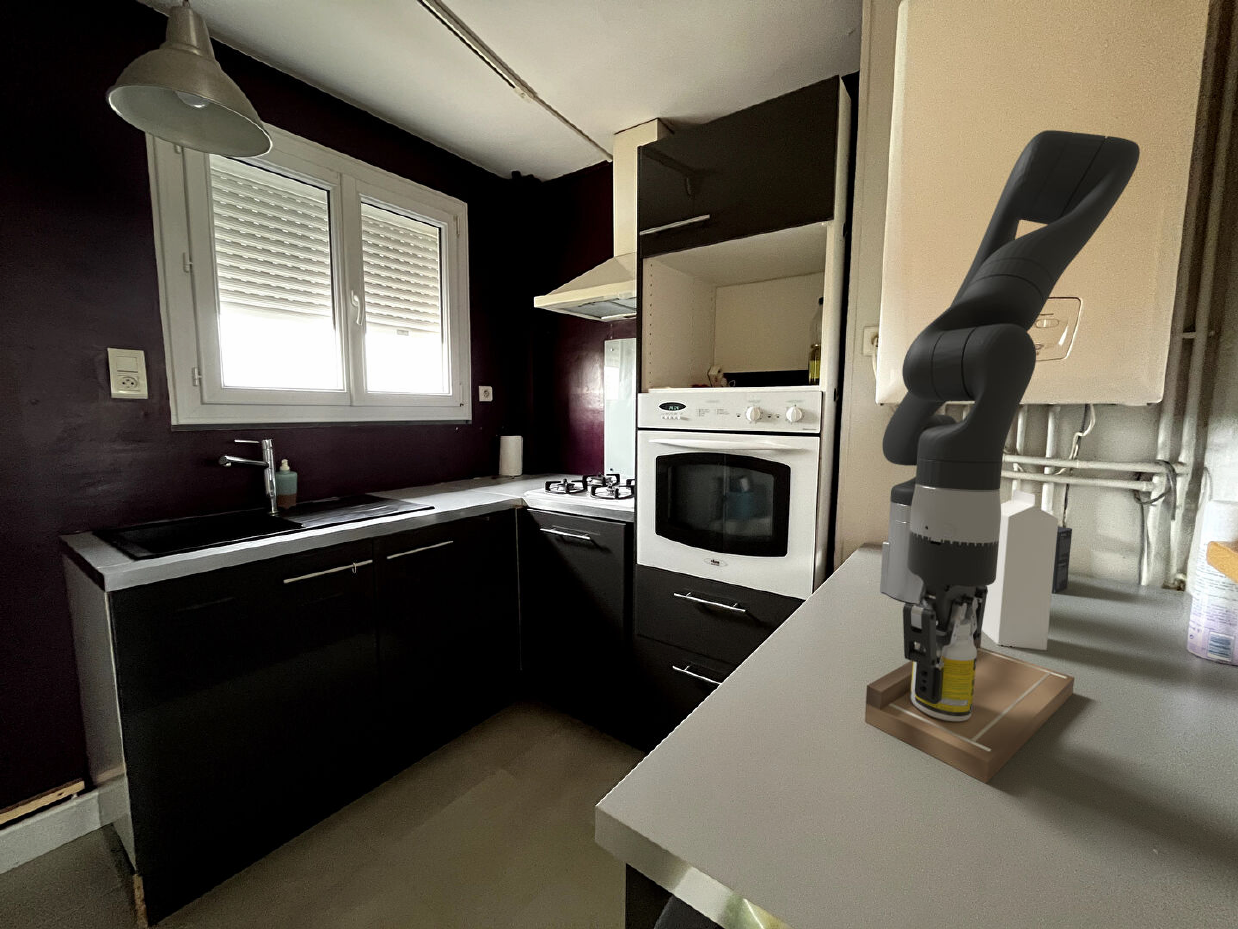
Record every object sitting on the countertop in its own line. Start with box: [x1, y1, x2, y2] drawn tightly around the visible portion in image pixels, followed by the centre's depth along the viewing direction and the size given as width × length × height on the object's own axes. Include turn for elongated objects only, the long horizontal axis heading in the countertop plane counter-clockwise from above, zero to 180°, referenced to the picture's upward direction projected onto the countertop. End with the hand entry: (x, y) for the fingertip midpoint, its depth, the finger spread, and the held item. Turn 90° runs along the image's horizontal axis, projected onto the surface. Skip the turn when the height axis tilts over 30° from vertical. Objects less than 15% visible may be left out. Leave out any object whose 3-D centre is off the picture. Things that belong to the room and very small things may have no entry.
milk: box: [981, 489, 1059, 651], centre depth 73 cm, size 6×6×22 cm
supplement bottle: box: [911, 618, 977, 721], centre depth 51 cm, size 5×5×10 cm
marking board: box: [864, 631, 1075, 784], centre depth 56 cm, size 11×26×4 cm, turn 125°
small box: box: [1052, 525, 1073, 594], centre depth 100 cm, size 13×7×12 cm, turn 32°
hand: (940, 689), depth 52 cm, fingers closed on supplement bottle, 5 cm apart
